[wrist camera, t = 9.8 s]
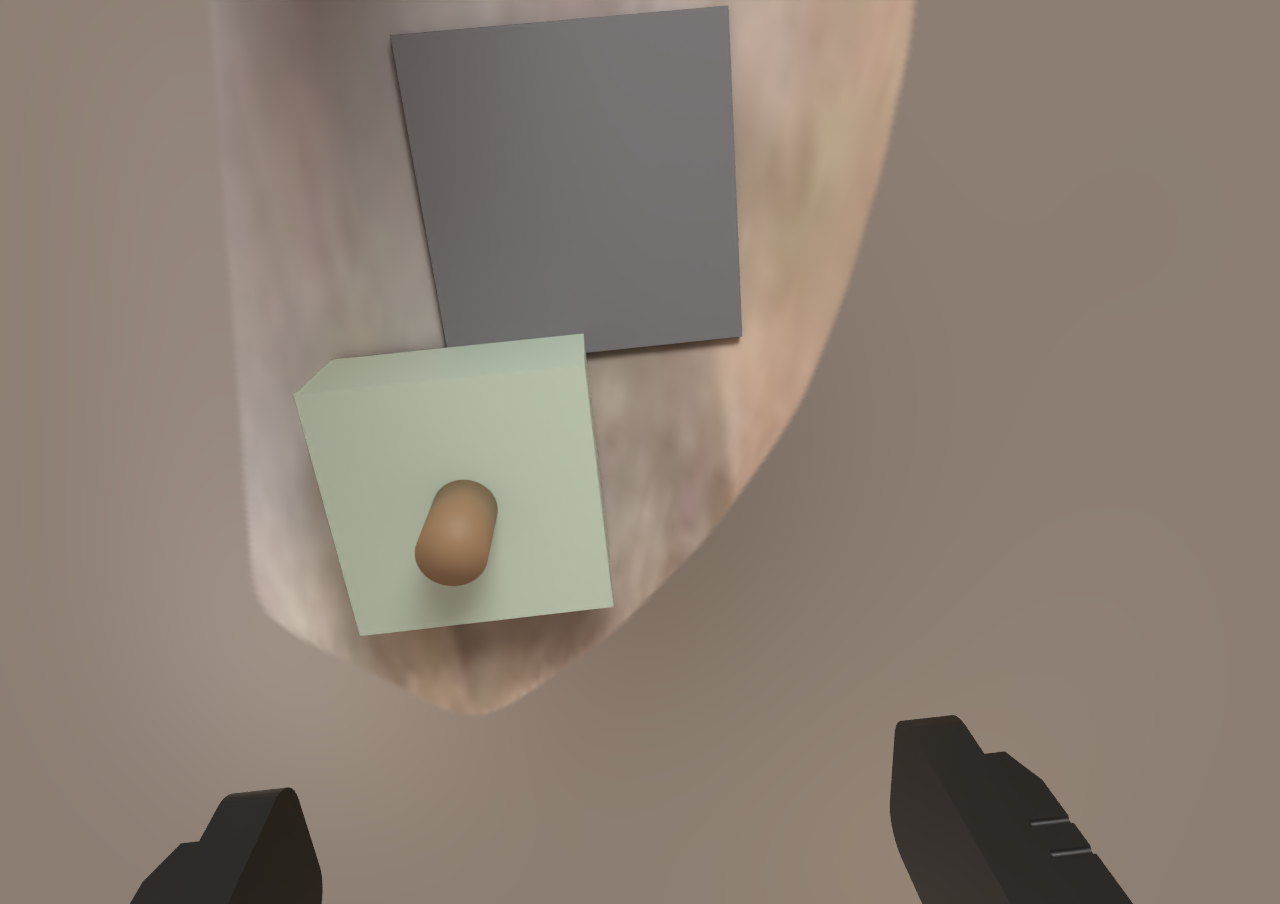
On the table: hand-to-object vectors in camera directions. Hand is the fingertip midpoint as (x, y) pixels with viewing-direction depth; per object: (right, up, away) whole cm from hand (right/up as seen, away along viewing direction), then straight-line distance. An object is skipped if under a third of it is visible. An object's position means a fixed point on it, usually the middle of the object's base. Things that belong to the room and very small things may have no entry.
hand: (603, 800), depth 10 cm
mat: (-2, +16, +24) cm, 29 cm away
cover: (-8, +4, +28) cm, 29 cm away
